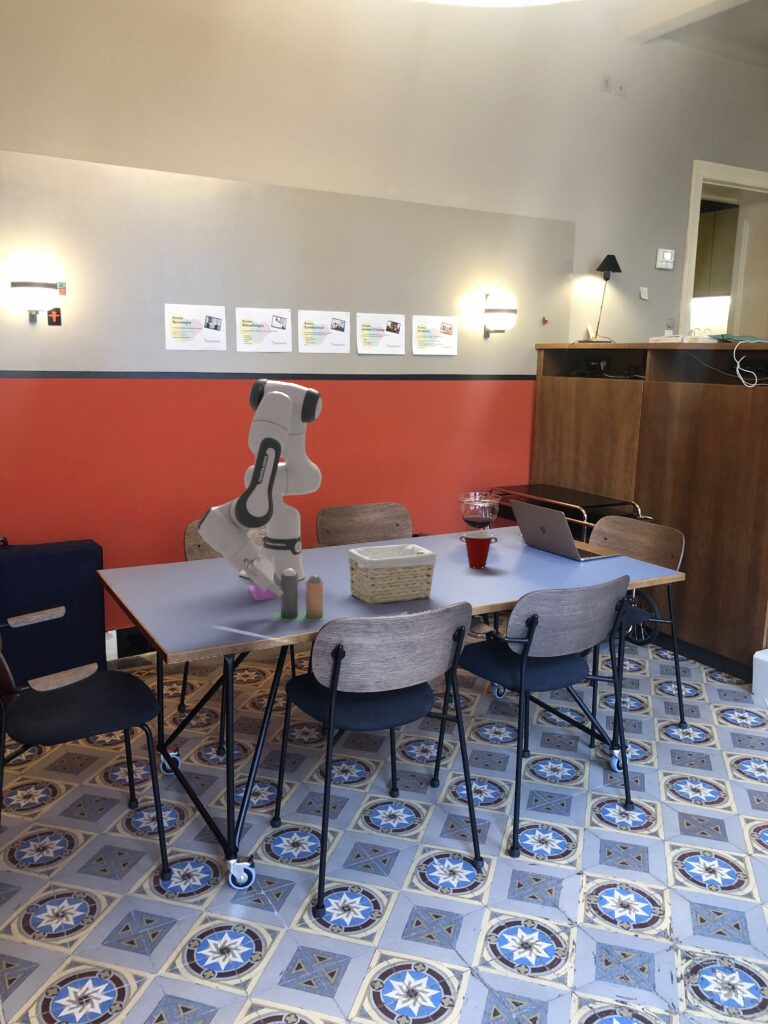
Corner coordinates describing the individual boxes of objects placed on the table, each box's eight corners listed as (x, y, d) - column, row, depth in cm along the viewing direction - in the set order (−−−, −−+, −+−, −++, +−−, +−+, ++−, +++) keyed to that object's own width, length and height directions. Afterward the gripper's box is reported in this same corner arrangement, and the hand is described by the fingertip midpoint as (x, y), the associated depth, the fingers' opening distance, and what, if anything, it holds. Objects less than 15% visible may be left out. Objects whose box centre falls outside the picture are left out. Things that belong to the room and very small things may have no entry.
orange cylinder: (302, 616, 221) (302, 576, 219) (311, 611, 226) (311, 572, 224) (317, 619, 219) (317, 578, 217) (326, 614, 224) (326, 574, 221)
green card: (273, 624, 217) (273, 621, 217) (273, 614, 226) (273, 611, 226) (327, 623, 219) (327, 620, 219) (325, 613, 228) (325, 610, 227)
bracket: (274, 599, 241) (273, 577, 240) (256, 600, 239) (255, 578, 238) (264, 588, 253) (264, 567, 252) (247, 589, 251) (247, 568, 250)
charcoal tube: (277, 616, 221) (277, 568, 219) (287, 612, 225) (287, 565, 223) (291, 619, 219) (291, 571, 216) (301, 615, 223) (301, 567, 221)
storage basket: (412, 585, 258) (413, 542, 255) (437, 599, 244) (438, 552, 241) (345, 594, 248) (346, 548, 245) (367, 608, 233) (367, 559, 231)
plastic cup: (489, 562, 290) (490, 531, 288) (494, 570, 279) (495, 537, 277) (460, 562, 290) (461, 530, 287) (464, 570, 279) (465, 537, 277)
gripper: (252, 556, 207) (290, 591, 210) (254, 540, 227) (289, 572, 230) (235, 573, 207) (273, 608, 210) (239, 555, 227) (274, 587, 230)
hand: (281, 589), depth 220 cm, fingers open, 8 cm apart
